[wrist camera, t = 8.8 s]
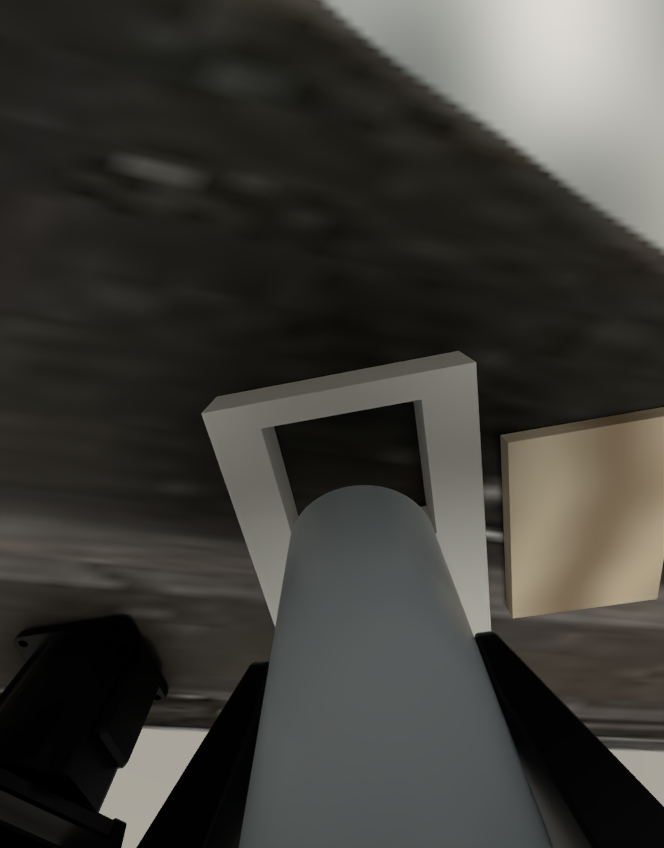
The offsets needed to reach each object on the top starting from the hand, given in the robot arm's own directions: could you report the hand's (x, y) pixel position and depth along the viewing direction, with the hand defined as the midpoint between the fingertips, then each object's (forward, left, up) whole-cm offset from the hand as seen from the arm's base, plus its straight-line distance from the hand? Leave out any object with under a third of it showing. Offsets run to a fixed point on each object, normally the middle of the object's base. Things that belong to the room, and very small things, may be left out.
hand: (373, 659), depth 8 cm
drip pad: (+10, -5, -9) cm, 15 cm away
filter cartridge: (0, 0, -4) cm, 4 cm away
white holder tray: (0, -4, -9) cm, 10 cm away
